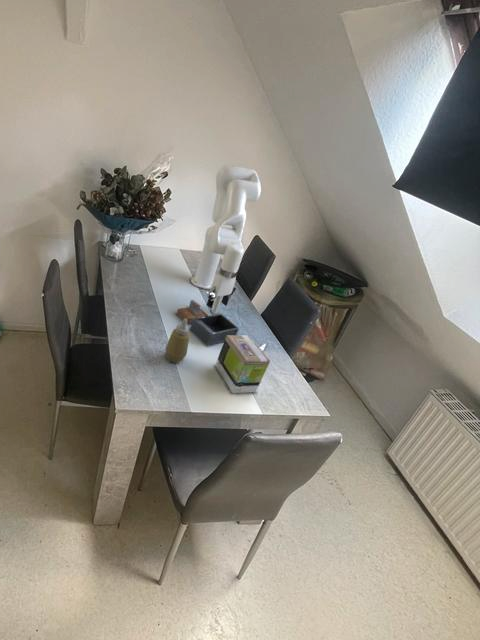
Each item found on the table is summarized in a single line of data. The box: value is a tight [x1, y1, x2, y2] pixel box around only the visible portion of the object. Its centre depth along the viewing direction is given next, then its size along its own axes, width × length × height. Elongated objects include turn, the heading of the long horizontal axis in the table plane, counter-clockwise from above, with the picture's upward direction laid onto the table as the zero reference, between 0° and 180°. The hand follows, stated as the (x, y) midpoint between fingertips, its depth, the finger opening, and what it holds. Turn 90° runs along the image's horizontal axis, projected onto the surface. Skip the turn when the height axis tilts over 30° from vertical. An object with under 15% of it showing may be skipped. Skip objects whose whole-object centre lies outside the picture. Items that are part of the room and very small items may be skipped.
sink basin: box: [189, 312, 239, 347], centre depth 163 cm, size 16×12×6 cm
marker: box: [211, 296, 223, 315], centre depth 177 cm, size 3×3×13 cm
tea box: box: [215, 334, 271, 394], centre depth 138 cm, size 15×10×15 cm, turn 12°
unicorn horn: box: [258, 343, 267, 353], centre depth 153 cm, size 5×24×5 cm, turn 139°
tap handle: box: [188, 299, 202, 315], centre depth 170 cm, size 6×2×5 cm, turn 28°
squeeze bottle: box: [165, 319, 191, 364], centre depth 141 cm, size 8×8×18 cm
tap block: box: [176, 305, 209, 325], centre depth 172 cm, size 11×10×3 cm
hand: (216, 305), depth 178 cm, fingers open, 8 cm apart
